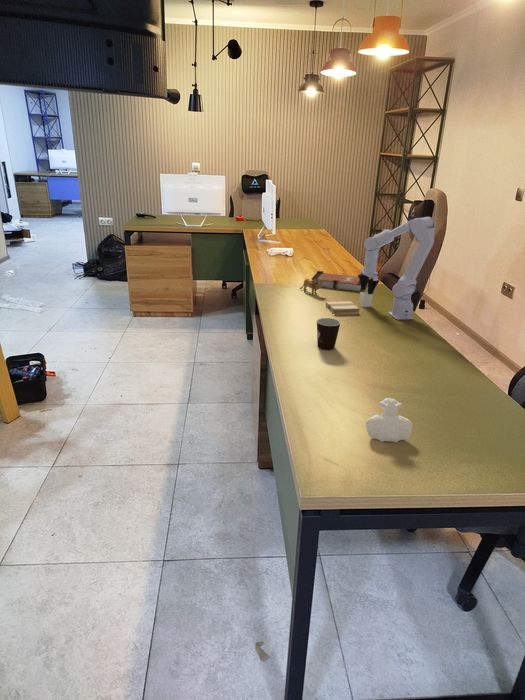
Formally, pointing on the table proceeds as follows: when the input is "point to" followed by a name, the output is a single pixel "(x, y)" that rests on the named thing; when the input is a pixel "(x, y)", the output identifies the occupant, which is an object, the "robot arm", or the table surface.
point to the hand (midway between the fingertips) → (366, 291)
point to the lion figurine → (313, 284)
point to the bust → (389, 423)
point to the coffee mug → (327, 333)
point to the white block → (365, 299)
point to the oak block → (342, 307)
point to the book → (339, 281)
